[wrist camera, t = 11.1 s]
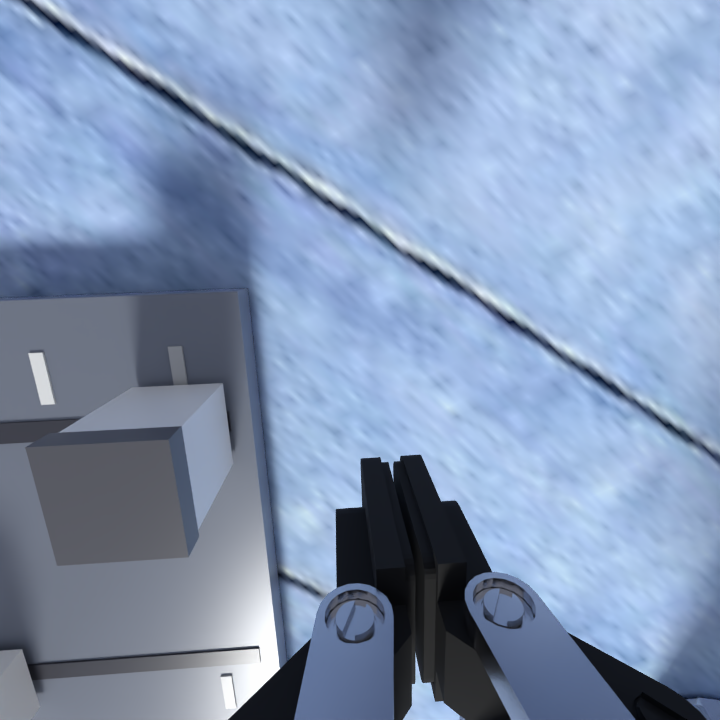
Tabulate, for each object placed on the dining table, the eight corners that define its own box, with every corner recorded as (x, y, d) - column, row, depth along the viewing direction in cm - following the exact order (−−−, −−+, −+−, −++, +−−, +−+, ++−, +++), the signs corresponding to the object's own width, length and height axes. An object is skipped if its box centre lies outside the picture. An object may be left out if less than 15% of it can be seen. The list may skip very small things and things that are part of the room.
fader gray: (224, 380, 18) (168, 439, 12) (235, 465, 19) (188, 557, 13) (129, 385, 18) (25, 447, 12) (145, 470, 19) (57, 566, 13)
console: (247, 288, 19) (236, 291, 17) (290, 695, 26) (286, 733, 24) (-142, 303, 18) (-202, 309, 16) (3, 719, 25) (-27, 759, 23)
